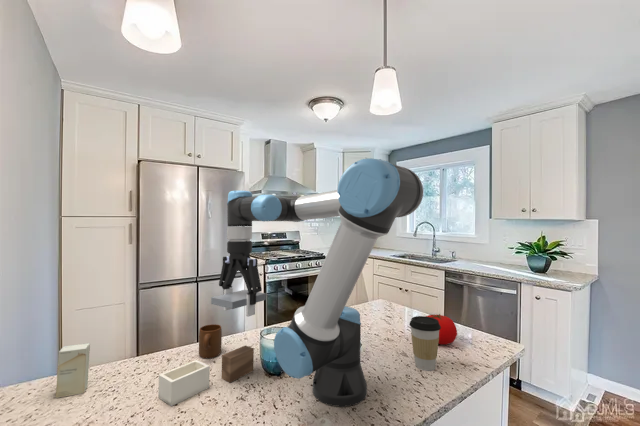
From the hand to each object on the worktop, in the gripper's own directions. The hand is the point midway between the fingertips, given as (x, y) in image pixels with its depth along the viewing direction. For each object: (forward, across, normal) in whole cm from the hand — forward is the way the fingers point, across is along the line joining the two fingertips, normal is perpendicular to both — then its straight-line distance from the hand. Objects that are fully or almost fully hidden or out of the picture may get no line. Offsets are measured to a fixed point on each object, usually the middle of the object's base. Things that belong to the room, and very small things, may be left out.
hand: (239, 312), depth 93 cm
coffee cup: (+20, -45, -40) cm, 63 cm away
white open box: (+19, +4, +15) cm, 25 cm away
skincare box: (+19, +29, +33) cm, 48 cm away
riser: (+19, 0, 0) cm, 19 cm away
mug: (+19, +18, -2) cm, 27 cm away
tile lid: (-3, 0, 0) cm, 3 cm away
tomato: (+20, -43, -64) cm, 79 cm away
